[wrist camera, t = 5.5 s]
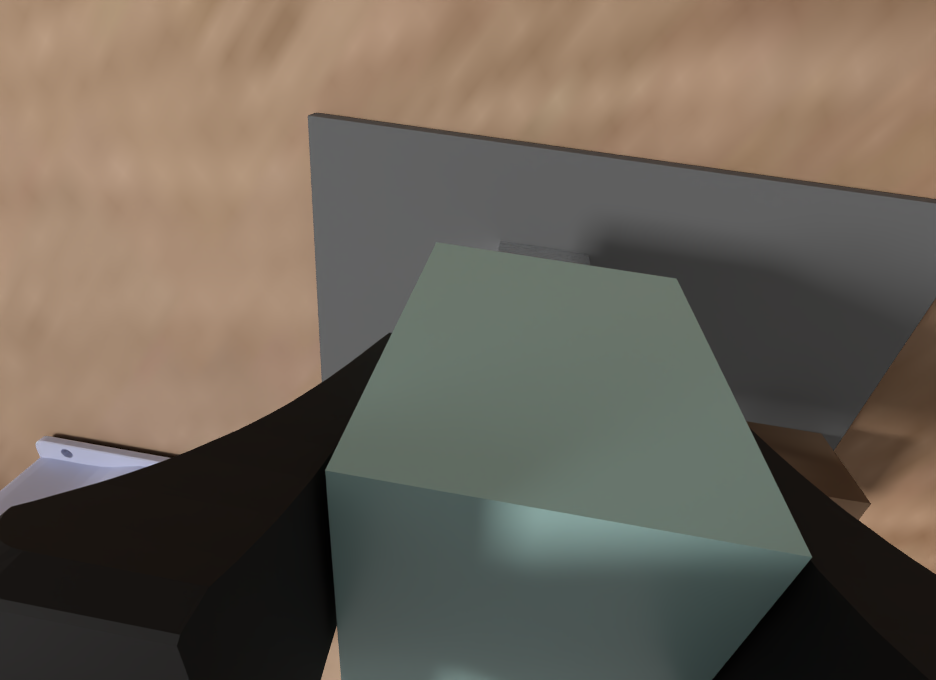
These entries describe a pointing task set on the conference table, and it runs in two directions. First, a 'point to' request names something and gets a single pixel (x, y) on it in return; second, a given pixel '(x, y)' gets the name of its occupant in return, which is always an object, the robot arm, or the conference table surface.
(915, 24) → the conference table surface
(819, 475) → the brown cube
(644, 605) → the pale aqua cube
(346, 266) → the mat
